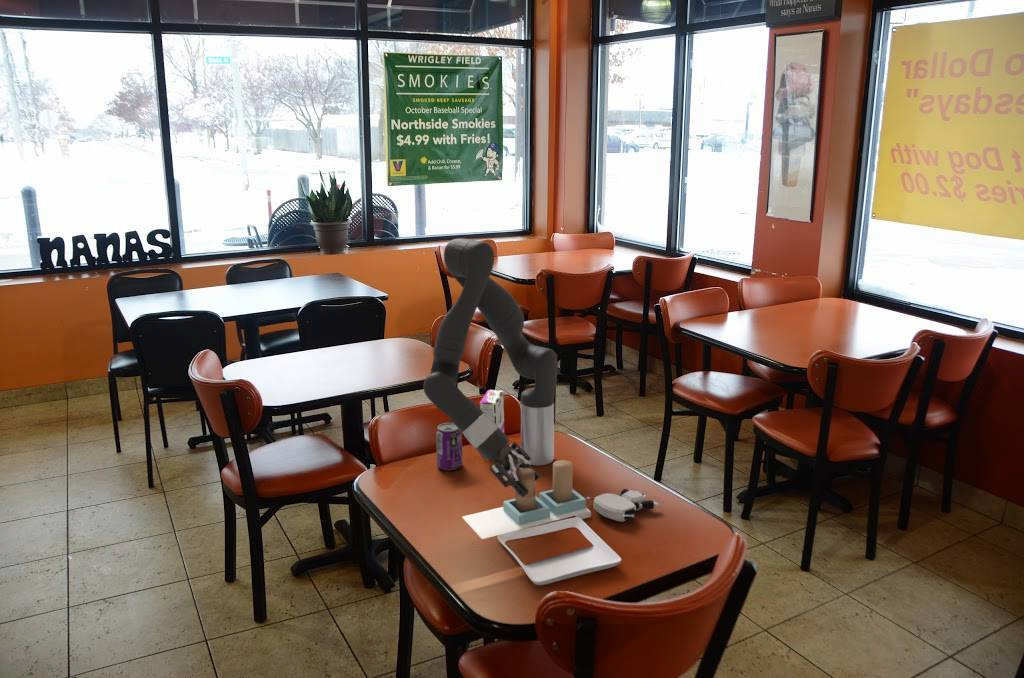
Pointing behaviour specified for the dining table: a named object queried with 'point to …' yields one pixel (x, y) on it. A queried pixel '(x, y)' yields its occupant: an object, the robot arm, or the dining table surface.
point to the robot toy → (622, 504)
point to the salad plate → (568, 562)
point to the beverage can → (449, 446)
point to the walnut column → (528, 480)
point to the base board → (548, 507)
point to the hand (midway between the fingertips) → (531, 486)
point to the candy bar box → (494, 407)
